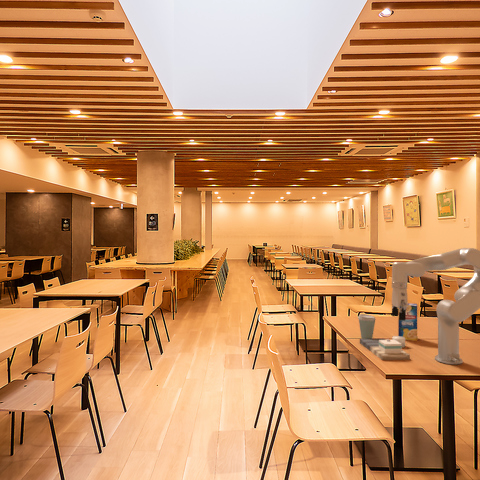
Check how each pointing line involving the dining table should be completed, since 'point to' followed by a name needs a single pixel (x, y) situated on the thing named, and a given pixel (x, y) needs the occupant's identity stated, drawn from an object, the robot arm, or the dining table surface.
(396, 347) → the carton
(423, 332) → the dining table surface
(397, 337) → the white domed cylinder
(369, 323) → the disposable coffee cup
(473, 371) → the dining table surface
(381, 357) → the beige flat board
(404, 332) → the beverage box
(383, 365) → the dining table surface
